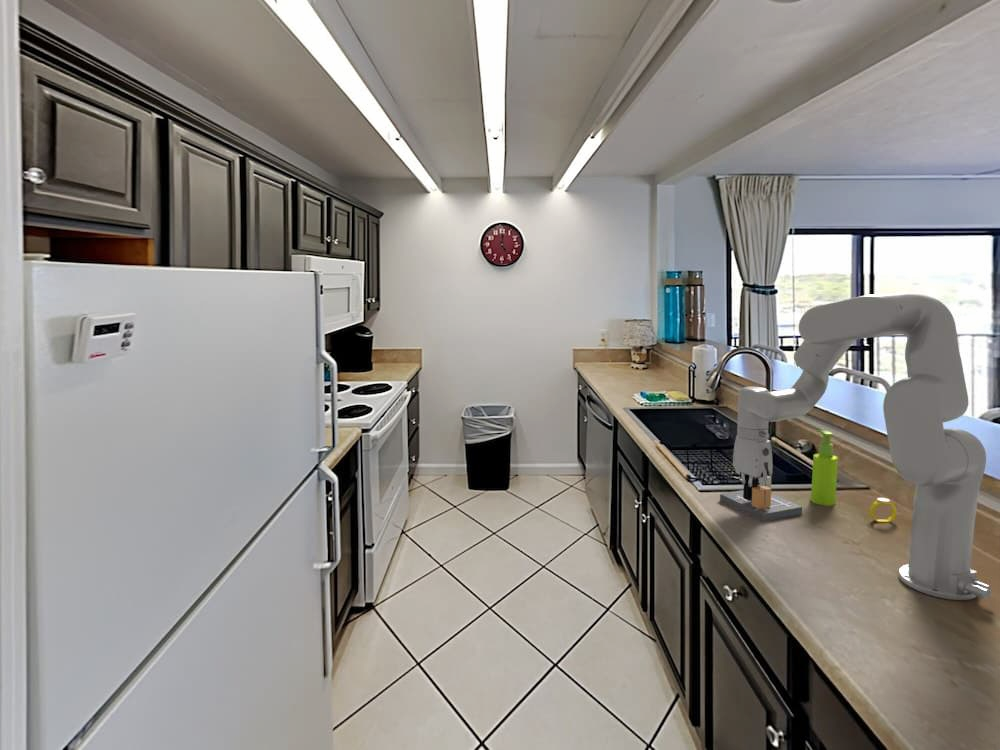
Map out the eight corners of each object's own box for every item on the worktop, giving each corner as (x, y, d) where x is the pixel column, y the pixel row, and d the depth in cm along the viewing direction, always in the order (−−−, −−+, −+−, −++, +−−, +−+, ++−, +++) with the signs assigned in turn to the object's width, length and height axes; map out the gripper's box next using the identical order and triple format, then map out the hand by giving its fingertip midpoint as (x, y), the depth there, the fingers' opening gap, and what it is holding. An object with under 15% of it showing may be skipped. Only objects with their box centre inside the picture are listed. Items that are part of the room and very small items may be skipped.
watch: (873, 524, 140) (873, 502, 139) (867, 520, 143) (867, 498, 142) (898, 523, 140) (898, 500, 139) (891, 518, 142) (891, 496, 142)
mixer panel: (802, 514, 147) (802, 506, 147) (762, 521, 143) (762, 513, 143) (756, 494, 162) (757, 487, 162) (720, 500, 158) (720, 493, 158)
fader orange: (770, 506, 147) (771, 488, 146) (758, 508, 146) (759, 490, 145) (763, 503, 149) (764, 485, 149) (751, 505, 148) (752, 487, 147)
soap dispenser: (827, 496, 159) (831, 428, 156) (839, 505, 152) (843, 434, 149) (805, 496, 160) (809, 428, 157) (816, 505, 153) (820, 434, 150)
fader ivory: (770, 494, 156) (771, 476, 155) (759, 496, 155) (759, 478, 154) (764, 491, 158) (764, 474, 158) (752, 493, 157) (753, 475, 156)
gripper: (785, 438, 143) (782, 506, 145) (743, 425, 157) (741, 488, 159) (762, 441, 140) (759, 510, 143) (721, 428, 154) (719, 491, 157)
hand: (750, 498), depth 151 cm, fingers closed
